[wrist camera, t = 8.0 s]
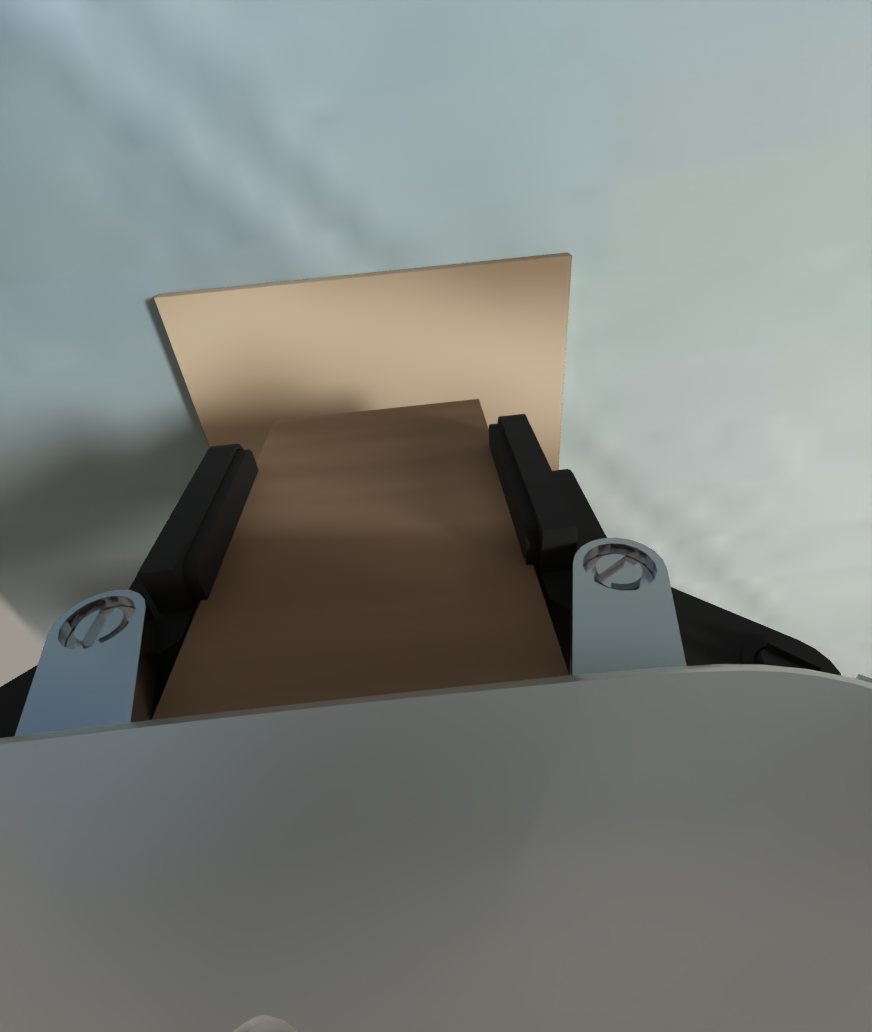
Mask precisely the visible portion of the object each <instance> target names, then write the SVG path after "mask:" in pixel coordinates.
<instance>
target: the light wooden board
mask: <svg viewBox="0 0 872 1032" xmlns="http://www.w3.org/2000/svg"><path fill="white" fill-rule="evenodd" d="M571 263H572V255H571V254H569V253H560V254H551V255H541V256H531V257H521V258H511V259H502V260H492V261H482V262H472V263H462V264H453V265H443V266H433V267H423V268H413V269H404V270H394V271H384V272H374V273H364V274H354V275H345V276H335V277H325V278H315V279H305V280H296V281H286V282H276V283H266V284H256V285H247V286H237V287H227V288H217V289H207V290H197V291H188V292H178V293H168V294H159V295H158V296H156V297H155V298H154V299H155V302H156V305H157V307H158V310H159V313H160V315H161V318H162V321H163V323H164V326H165V329H166V331H167V334H168V337H169V339H170V342H171V345H172V348H173V350H174V353H175V356H176V358H177V361H178V364H179V366H180V369H181V372H182V374H183V377H184V380H185V382H186V385H187V388H188V391H189V393H190V396H191V399H192V401H193V404H194V407H195V409H196V412H197V415H198V417H199V420H200V423H201V425H202V428H203V431H204V433H205V436H206V439H207V442H208V444H209V447H211V446H220V445H229V444H240V445H241V446H242V448H243V449H244V450H247V449H250V450H251V451H252V453H253V455H254V458H255V461H256V463H257V461H258V458H259V456H260V453H261V451H262V449H263V446H264V444H265V441H266V439H267V436H268V434H269V431H270V429H271V426H272V424H273V422H274V420H283V419H292V418H302V417H311V416H321V415H330V414H340V413H349V412H359V411H368V410H377V409H387V408H396V407H406V406H415V405H425V404H434V403H444V402H453V401H463V400H472V399H479V401H480V404H481V407H482V410H483V413H484V416H485V419H486V422H487V426H488V429H489V424H497V423H498V417H499V416H508V415H518V414H525V415H526V416H527V419H528V421H529V423H530V425H531V427H532V429H533V431H534V433H535V436H536V438H537V440H538V442H539V444H540V446H541V448H542V450H543V453H544V455H545V457H546V459H547V461H548V463H549V465H550V467H551V470H552V471H555V470H559V454H560V438H561V422H562V406H563V391H564V375H565V359H566V343H567V327H568V311H569V295H570V279H571Z"/></svg>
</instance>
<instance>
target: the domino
mask: <svg viewBox="0 0 872 1032" xmlns="http://www.w3.org/2000/svg"><path fill="white" fill-rule="evenodd" d="M256 464H257V467H258V470H259V471H258V473H257V476H256V478H255V481H254V483H253V486H252V488H251V491H250V493H249V496H248V498H247V501H246V504H245V506H244V509H243V511H242V514H241V516H240V519H239V521H238V524H237V526H236V529H235V532H234V534H233V537H232V539H231V542H230V544H229V547H228V549H227V552H226V554H225V557H224V559H223V562H222V565H221V567H220V570H219V572H218V575H217V577H216V580H215V582H214V585H213V587H212V590H211V593H210V595H209V598H208V600H200V603H199V605H198V608H197V610H196V613H195V615H194V617H193V620H192V622H191V625H190V627H189V630H188V632H187V635H186V637H185V639H184V642H183V644H182V647H181V649H180V652H179V654H178V657H177V659H176V662H175V664H174V666H173V669H172V671H171V674H170V676H169V679H168V681H167V684H166V686H165V688H164V691H163V693H162V696H161V698H160V701H159V703H158V706H157V708H156V710H155V713H154V715H153V718H152V720H156V719H165V718H174V717H183V716H191V715H200V714H209V713H218V712H227V711H236V710H245V709H254V708H263V707H273V706H282V705H291V704H300V703H309V702H319V701H328V700H337V699H347V698H356V697H365V696H375V695H384V694H394V693H403V692H412V691H422V690H432V689H441V688H451V687H461V686H471V685H481V684H490V683H500V682H510V681H520V680H529V679H539V678H549V677H559V676H569V673H568V670H567V667H566V664H565V661H564V658H563V655H562V652H561V648H560V645H559V642H558V639H557V636H556V633H555V630H554V627H553V624H552V621H551V618H550V615H549V612H548V609H547V606H546V603H545V600H544V597H543V594H542V590H541V587H540V584H539V581H538V578H537V575H536V572H535V569H534V566H533V565H526V564H525V560H524V557H523V554H522V551H521V547H520V544H519V541H518V538H517V535H516V531H515V528H514V525H513V522H512V518H511V515H510V512H509V509H508V505H507V502H506V499H505V496H504V492H503V489H502V486H501V483H500V480H499V476H498V473H497V470H496V467H495V463H494V460H493V457H492V454H491V450H490V447H489V429H488V426H487V422H486V419H485V416H484V413H483V410H482V407H481V404H480V401H479V399H472V400H463V401H453V402H444V403H434V404H425V405H415V406H406V407H396V408H387V409H377V410H368V411H359V412H349V413H340V414H330V415H321V416H311V417H302V418H292V419H283V420H274V422H273V424H272V426H271V429H270V431H269V434H268V436H267V439H266V441H265V444H264V446H263V449H262V451H261V453H260V456H259V458H258V461H257V463H256Z"/></svg>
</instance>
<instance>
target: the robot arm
mask: <svg viewBox="0 0 872 1032" xmlns="http://www.w3.org/2000/svg"><path fill="white" fill-rule="evenodd" d="M489 447H490V450H491V454H492V457H493V460H494V463H495V467H496V470H497V473H498V476H499V480H500V483H501V486H502V489H503V492H504V496H505V499H506V502H507V505H508V509H509V512H510V515H511V518H512V522H513V525H514V528H515V531H516V535H517V538H518V541H519V544H520V547H521V551H522V554H523V557H524V560H525V564H526V565H533V566H534V569H535V572H536V575H537V578H538V581H539V584H540V587H541V590H542V594H543V597H544V600H545V603H546V606H547V609H548V612H549V615H550V618H551V621H552V624H553V627H554V630H555V633H556V636H557V639H558V642H559V645H560V648H561V652H562V655H563V658H564V661H565V664H566V667H567V670H568V673H569V676H559V677H549V678H539V679H529V680H520V681H510V682H500V683H490V684H481V685H471V686H461V687H451V688H441V689H432V690H422V691H412V692H403V693H394V694H384V695H375V696H365V697H356V698H347V699H337V700H328V701H319V702H309V703H300V704H291V705H282V706H273V707H263V708H254V709H245V710H236V711H227V712H218V713H209V714H200V715H191V716H183V717H174V718H165V719H156V720H152V718H153V715H154V713H155V710H156V708H157V706H158V703H159V701H160V698H161V696H162V693H163V691H164V688H165V686H166V684H167V681H168V679H169V676H170V674H171V671H172V669H173V666H174V664H175V662H176V659H177V657H178V654H179V652H180V649H181V647H182V644H183V642H184V639H185V637H186V635H187V632H188V630H189V627H190V625H191V622H192V620H193V617H194V615H195V613H196V610H197V608H198V605H199V603H200V600H208V598H209V595H210V593H211V590H212V587H213V585H214V582H215V580H216V577H217V575H218V572H219V570H220V567H221V565H222V562H223V559H224V557H225V554H226V552H227V549H228V547H229V544H230V542H231V539H232V537H233V534H234V532H235V529H236V526H237V524H238V521H239V519H240V516H241V514H242V511H243V509H244V506H245V504H246V501H247V498H248V496H249V493H250V491H251V488H252V486H253V483H254V481H255V478H256V476H257V473H258V471H259V470H258V467H257V464H256V461H255V458H254V455H253V453H252V451H251V450H250V449H247V450H244V449H243V448H242V446H241V445H240V444H229V445H220V446H211V447H210V448H209V449H208V451H207V453H206V455H205V456H204V458H203V460H202V462H201V463H200V465H199V467H198V469H197V470H196V472H195V474H194V476H193V477H192V479H191V481H190V483H189V484H188V486H187V488H186V490H185V491H184V493H183V495H182V497H181V498H180V500H179V502H178V504H177V505H176V507H175V509H174V510H173V512H172V514H171V516H170V517H169V519H168V521H167V523H166V524H165V526H164V528H163V530H162V531H161V533H160V535H159V537H158V538H157V540H156V542H155V544H154V545H153V547H152V549H151V551H150V552H149V554H148V556H147V558H146V559H145V561H144V563H143V565H142V566H141V568H140V570H139V572H138V573H137V574H138V575H137V576H136V578H135V580H134V582H133V583H132V585H131V587H130V589H129V590H120V589H118V590H112V591H107V592H103V593H100V594H97V595H94V596H91V597H89V598H87V599H85V600H83V601H81V602H80V603H78V604H76V605H74V606H73V607H72V608H70V609H69V610H68V611H66V612H65V613H64V614H63V615H62V616H61V617H60V618H59V619H58V620H57V621H56V622H55V623H54V624H53V626H52V628H51V630H50V632H49V633H48V635H47V639H46V642H45V645H44V648H43V651H42V654H41V657H40V660H39V663H38V665H37V666H35V667H33V668H32V669H30V670H28V671H27V672H25V673H23V674H22V675H20V676H18V677H17V678H15V679H13V680H12V681H10V682H8V683H7V684H5V685H3V686H1V687H0V1032H872V679H871V678H868V677H866V676H863V675H860V674H858V676H857V677H856V678H851V677H846V676H841V673H840V672H839V671H838V670H837V669H836V667H835V666H834V665H833V664H832V662H831V661H830V660H829V659H827V658H826V657H825V656H824V655H822V654H821V653H820V652H818V651H817V650H816V649H814V648H812V647H811V646H809V645H807V644H805V643H803V642H801V641H799V640H797V639H794V638H792V637H790V636H787V635H785V634H782V633H780V632H778V631H775V630H773V629H770V628H768V627H766V626H763V625H761V624H758V623H756V622H754V621H751V620H749V619H746V618H744V617H742V616H739V615H737V614H734V613H732V612H730V611H727V610H725V609H722V608H720V607H717V606H715V605H713V604H710V603H708V602H705V601H703V600H701V599H698V598H696V597H693V596H691V595H689V594H686V593H684V592H681V591H679V590H677V589H674V588H672V587H671V586H670V581H669V576H668V571H667V568H666V566H665V563H664V561H663V559H662V558H661V557H660V556H659V555H658V554H657V553H656V552H655V551H653V550H652V549H650V548H648V547H647V546H645V545H643V544H641V543H638V542H635V541H632V540H628V539H621V538H607V537H606V535H605V533H604V531H603V530H602V528H601V526H600V524H599V522H598V520H597V518H596V516H595V514H594V513H593V511H592V509H591V507H590V505H589V503H588V501H587V499H586V497H585V495H584V494H583V492H582V490H581V488H580V486H579V484H578V482H577V480H576V478H575V477H574V475H573V473H572V472H571V470H569V469H564V470H555V471H552V470H551V467H550V465H549V463H548V461H547V459H546V457H545V455H544V453H543V450H542V448H541V446H540V444H539V442H538V440H537V438H536V436H535V433H534V431H533V429H532V427H531V425H530V423H529V421H528V419H527V416H526V415H525V414H518V415H508V416H499V417H498V423H497V424H489Z"/></svg>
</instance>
